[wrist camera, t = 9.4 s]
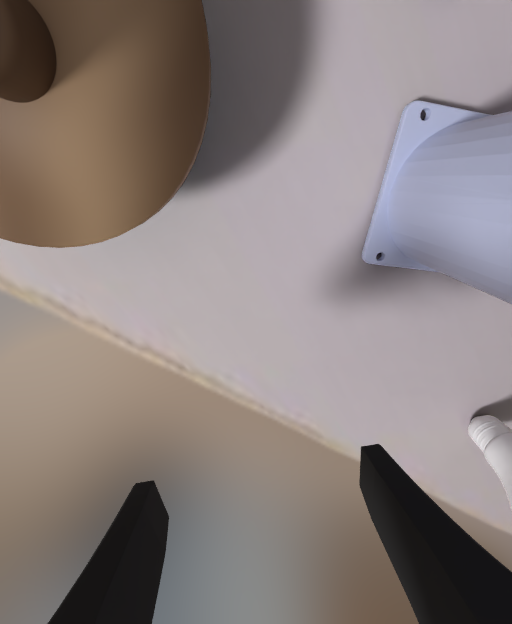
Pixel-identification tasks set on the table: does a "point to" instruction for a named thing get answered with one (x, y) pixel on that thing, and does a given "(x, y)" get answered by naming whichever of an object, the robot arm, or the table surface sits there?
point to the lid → (97, 114)
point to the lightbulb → (495, 447)
